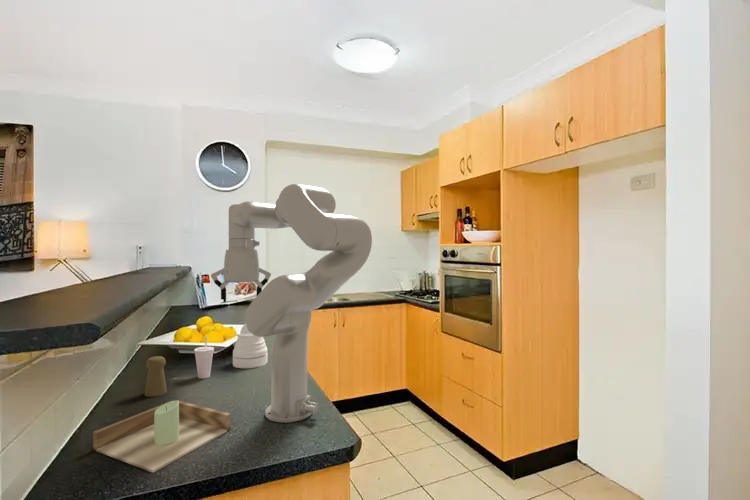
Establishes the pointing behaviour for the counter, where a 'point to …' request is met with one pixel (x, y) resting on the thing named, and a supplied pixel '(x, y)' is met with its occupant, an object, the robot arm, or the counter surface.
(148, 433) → the wooden tray
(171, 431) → the candle
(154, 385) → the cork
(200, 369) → the smoothie
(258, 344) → the honey pot
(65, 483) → the counter surface
